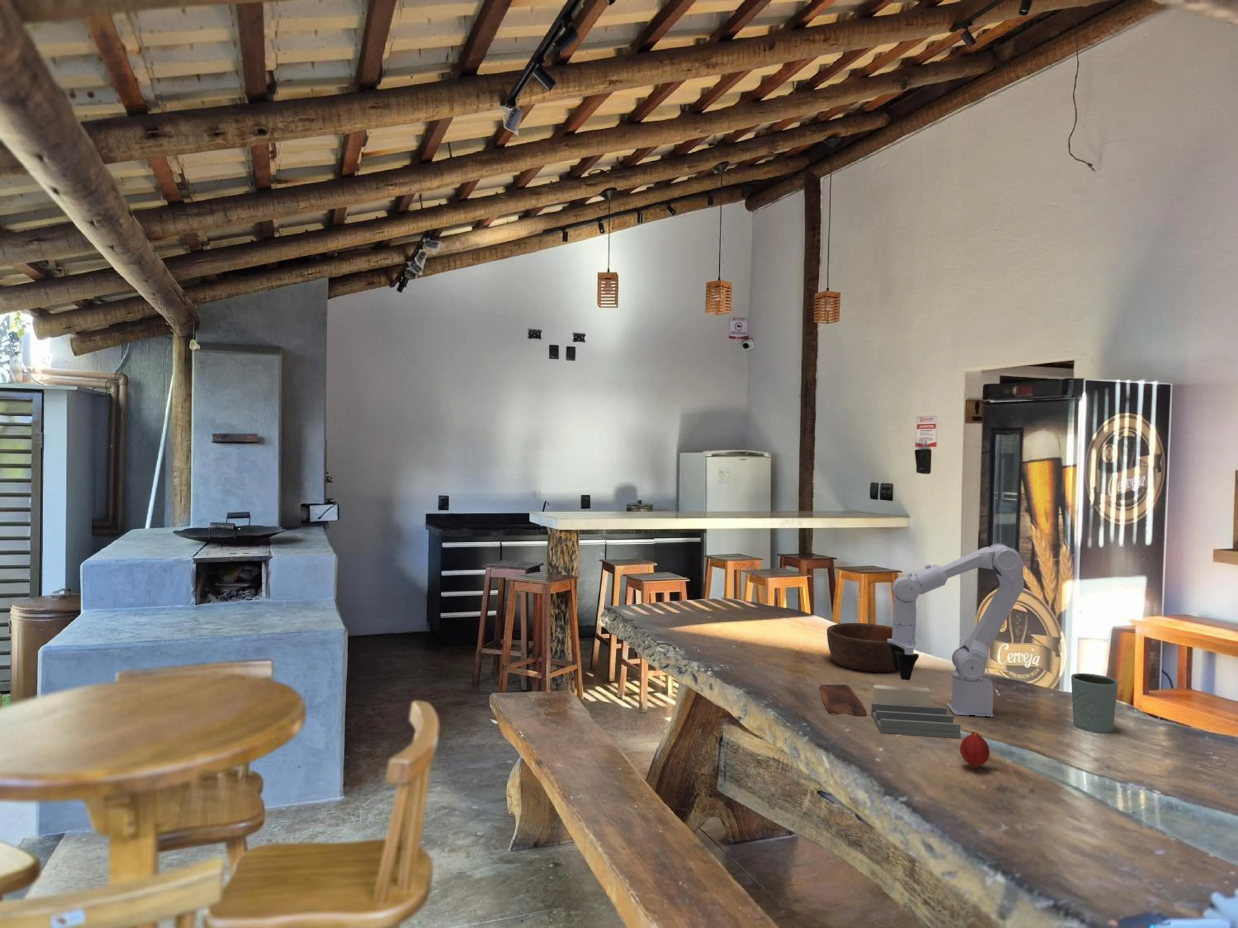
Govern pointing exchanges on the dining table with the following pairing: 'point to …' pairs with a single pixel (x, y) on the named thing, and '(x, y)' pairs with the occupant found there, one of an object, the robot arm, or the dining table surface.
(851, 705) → the wooden tablet
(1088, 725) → the dark green cup
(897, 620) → the robot arm
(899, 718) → the grooved grey tray
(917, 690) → the clay bar
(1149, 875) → the dining table surface
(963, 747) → the onion
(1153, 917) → the dining table surface
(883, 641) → the wooden bowl
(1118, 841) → the dining table surface
